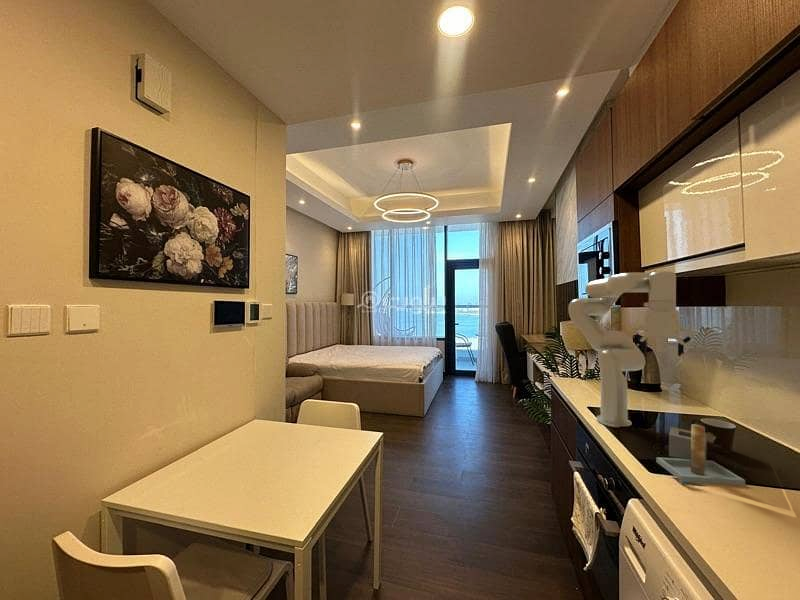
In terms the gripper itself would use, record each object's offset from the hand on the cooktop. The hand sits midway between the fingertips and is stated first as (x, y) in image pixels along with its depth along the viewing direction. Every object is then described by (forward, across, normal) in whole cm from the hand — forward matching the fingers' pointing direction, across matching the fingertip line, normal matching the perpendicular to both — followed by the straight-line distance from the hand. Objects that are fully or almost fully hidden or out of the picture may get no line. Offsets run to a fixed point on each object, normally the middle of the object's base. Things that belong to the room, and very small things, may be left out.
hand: (661, 354), depth 115 cm
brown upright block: (+32, +11, -17) cm, 38 cm away
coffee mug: (+34, +14, +10) cm, 38 cm away
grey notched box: (+33, +7, -5) cm, 34 cm away
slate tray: (+33, +10, -17) cm, 39 cm away
